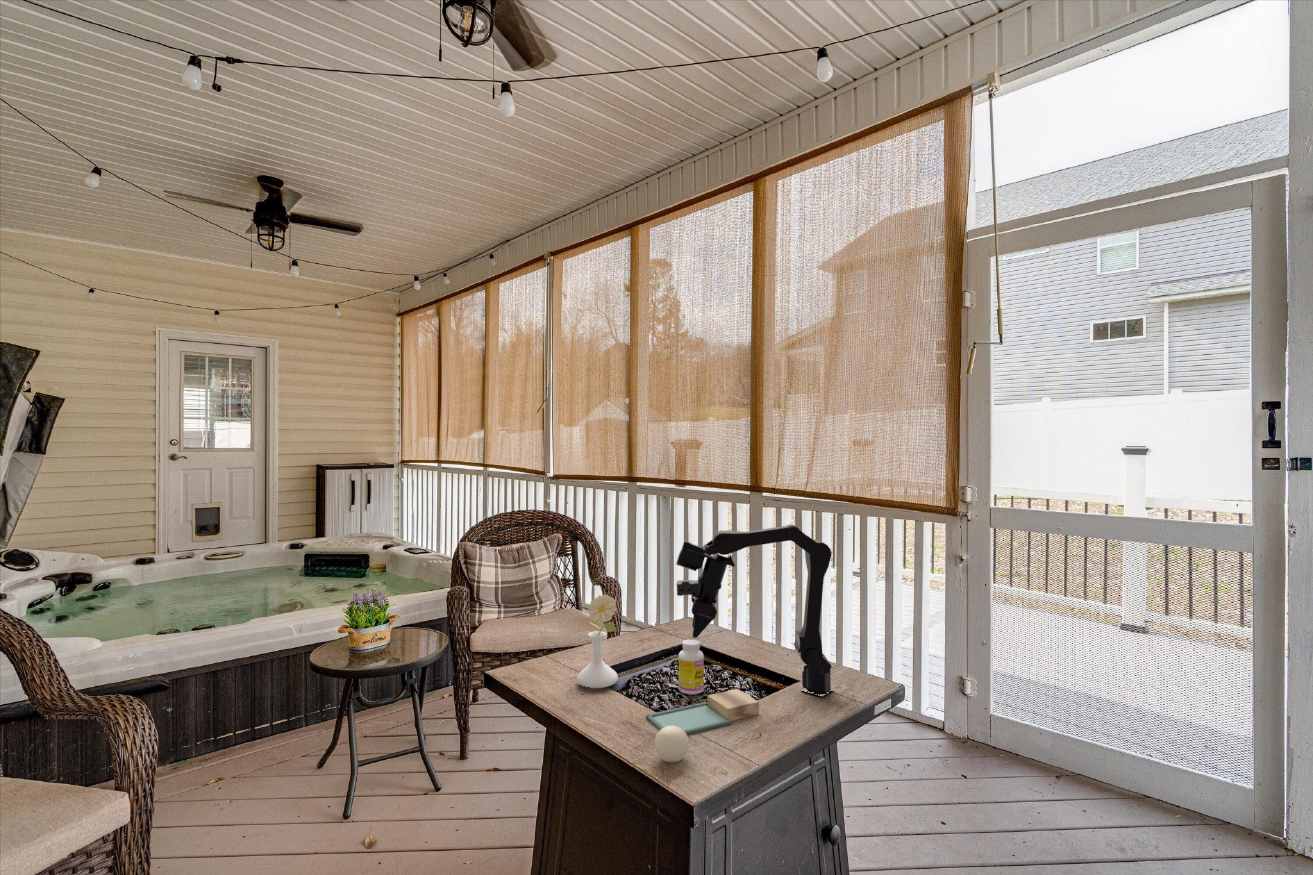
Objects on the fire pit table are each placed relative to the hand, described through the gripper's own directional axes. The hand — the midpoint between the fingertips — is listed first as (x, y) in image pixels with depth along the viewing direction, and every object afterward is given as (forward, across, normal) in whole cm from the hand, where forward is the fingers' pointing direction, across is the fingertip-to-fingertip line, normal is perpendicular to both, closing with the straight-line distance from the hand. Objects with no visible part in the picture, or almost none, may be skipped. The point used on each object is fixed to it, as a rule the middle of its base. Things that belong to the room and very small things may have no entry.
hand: (694, 632), depth 165 cm
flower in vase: (+23, -2, -20) cm, 30 cm away
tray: (+15, +20, +3) cm, 25 cm away
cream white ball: (+16, +38, 0) cm, 41 cm away
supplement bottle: (+15, +1, +4) cm, 16 cm away
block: (+12, +13, +14) cm, 22 cm away
